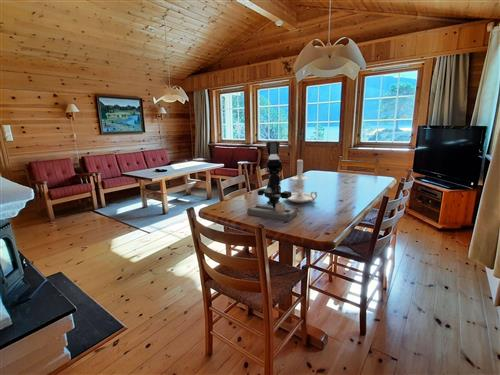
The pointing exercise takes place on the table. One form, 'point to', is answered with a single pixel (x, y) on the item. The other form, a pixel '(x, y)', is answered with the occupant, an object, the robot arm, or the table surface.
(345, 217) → the table surface
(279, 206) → the fader knob
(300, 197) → the candlestick
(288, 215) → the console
